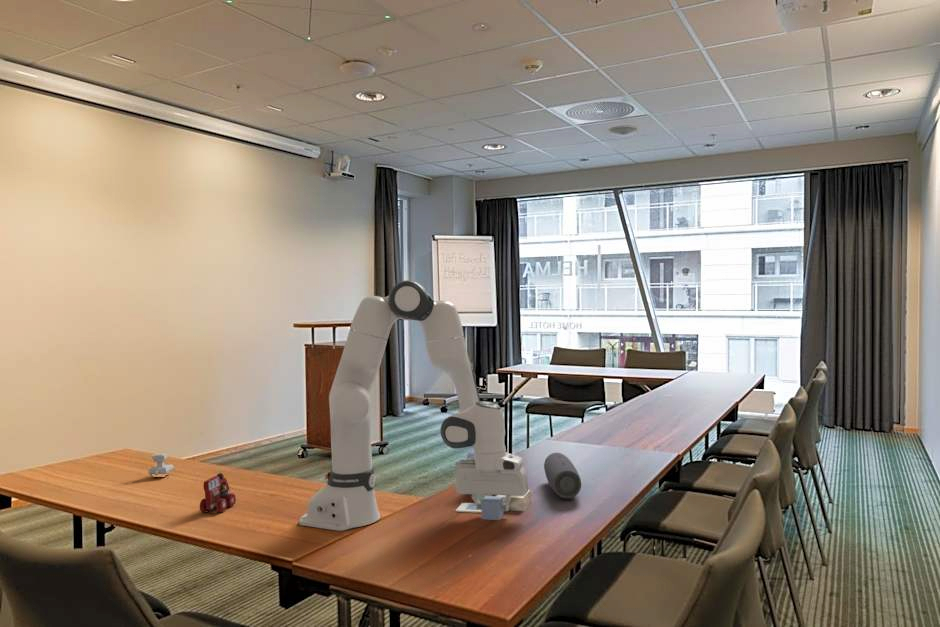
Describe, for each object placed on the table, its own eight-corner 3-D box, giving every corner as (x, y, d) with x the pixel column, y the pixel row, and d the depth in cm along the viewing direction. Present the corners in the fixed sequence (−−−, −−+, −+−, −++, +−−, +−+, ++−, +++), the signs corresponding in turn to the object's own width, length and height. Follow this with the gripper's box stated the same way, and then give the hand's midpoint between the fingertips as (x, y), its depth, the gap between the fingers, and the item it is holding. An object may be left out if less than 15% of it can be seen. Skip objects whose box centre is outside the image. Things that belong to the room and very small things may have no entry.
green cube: (475, 503, 192) (475, 486, 192) (476, 498, 197) (475, 482, 197) (492, 502, 192) (492, 486, 192) (492, 497, 197) (491, 481, 197)
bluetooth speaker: (584, 502, 189) (582, 467, 188) (552, 503, 189) (551, 469, 188) (571, 480, 211) (570, 450, 211) (543, 481, 211) (541, 451, 211)
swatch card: (455, 511, 185) (455, 509, 185) (462, 504, 191) (462, 502, 191) (486, 513, 182) (486, 511, 182) (492, 505, 189) (491, 503, 189)
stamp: (165, 479, 236) (164, 456, 236) (146, 480, 235) (145, 457, 235) (175, 473, 245) (174, 450, 245) (157, 474, 244) (156, 451, 244)
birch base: (496, 510, 185) (496, 496, 185) (505, 501, 193) (504, 488, 193) (523, 512, 183) (523, 498, 183) (531, 503, 190) (530, 490, 190)
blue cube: (481, 519, 177) (480, 501, 177) (486, 513, 182) (485, 496, 182) (499, 520, 176) (498, 502, 176) (503, 514, 181) (502, 496, 181)
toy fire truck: (239, 502, 203) (237, 469, 203) (218, 516, 191) (216, 481, 190) (218, 502, 204) (217, 470, 204) (196, 515, 192) (194, 481, 191)
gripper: (451, 462, 179) (453, 512, 179) (523, 464, 173) (526, 515, 174) (457, 456, 185) (459, 504, 185) (528, 458, 179) (530, 507, 180)
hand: (492, 510), depth 179 cm, fingers open, 6 cm apart
